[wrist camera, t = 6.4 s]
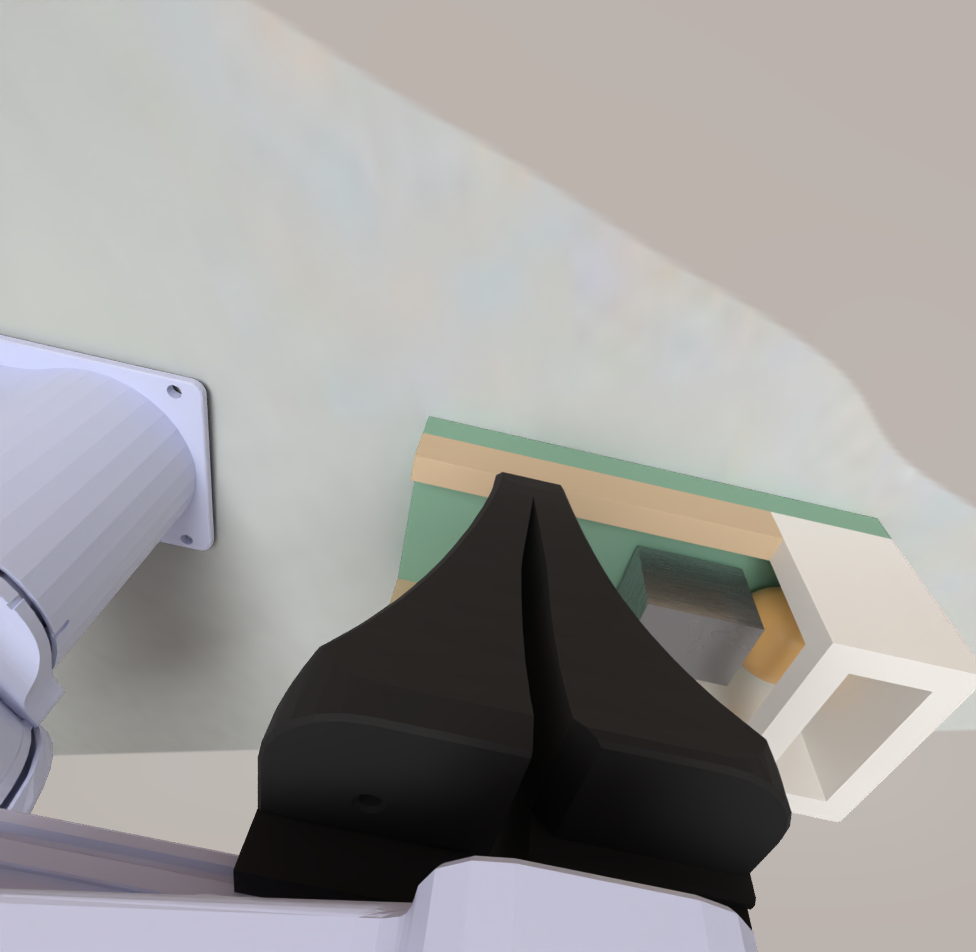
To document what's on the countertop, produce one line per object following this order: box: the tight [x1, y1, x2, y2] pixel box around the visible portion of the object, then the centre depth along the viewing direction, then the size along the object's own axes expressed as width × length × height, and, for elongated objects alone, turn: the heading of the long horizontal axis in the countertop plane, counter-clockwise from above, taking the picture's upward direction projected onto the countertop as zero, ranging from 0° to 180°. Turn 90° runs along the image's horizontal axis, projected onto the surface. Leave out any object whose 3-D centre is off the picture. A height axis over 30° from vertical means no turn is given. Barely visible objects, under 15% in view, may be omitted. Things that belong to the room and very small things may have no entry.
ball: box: [742, 587, 805, 685], centre depth 23 cm, size 4×4×4 cm
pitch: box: [390, 416, 976, 822], centre depth 22 cm, size 17×8×7 cm, turn 78°
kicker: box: [618, 546, 765, 686], centre depth 23 cm, size 4×3×3 cm
